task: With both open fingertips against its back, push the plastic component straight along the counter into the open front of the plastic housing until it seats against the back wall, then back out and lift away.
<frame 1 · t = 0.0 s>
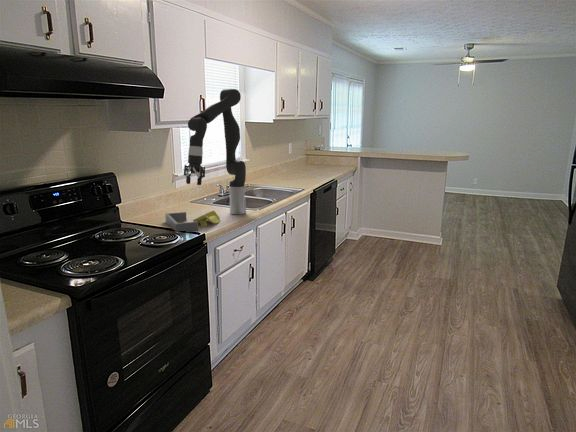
hand: (193, 184, 227), 22 cm above the worktop, tool pointing down, fingers open, 8 cm apart
housing: (182, 226, 226), on the worktop
plastic component: (205, 224, 232), on the worktop
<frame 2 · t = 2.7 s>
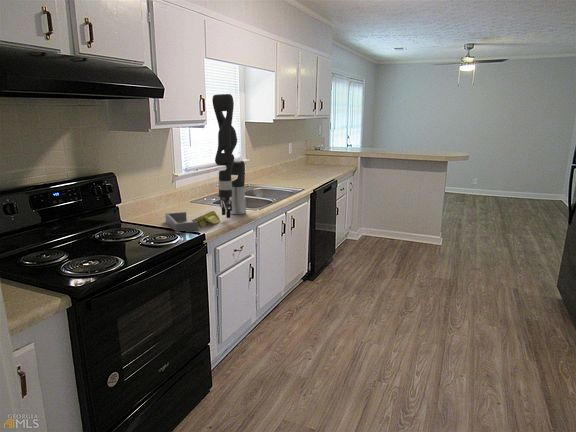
hand: (226, 216, 236), 3 cm above the worktop, tool pointing down, fingers open, 8 cm apart
nothing on the worktop moved.
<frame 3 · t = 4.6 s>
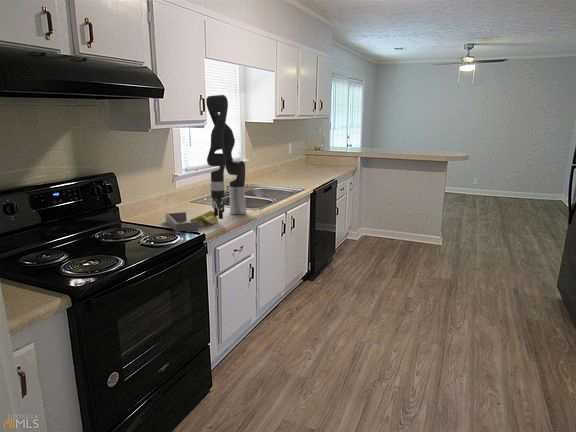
hand: (218, 217, 234), 3 cm above the worktop, tool pointing down, fingers open, 8 cm apart
plastic component: (203, 224, 231), on the worktop, touching gripper
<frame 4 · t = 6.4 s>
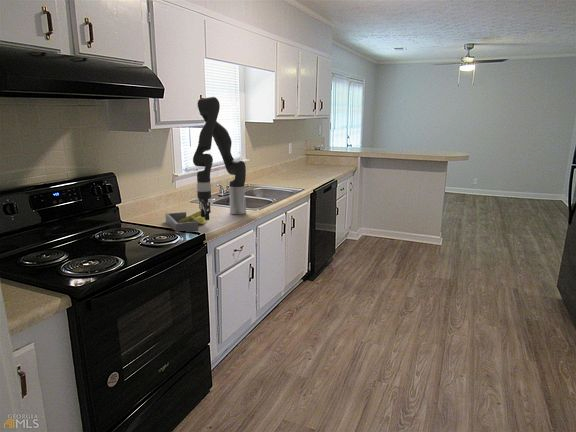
hand: (205, 218, 231), 3 cm above the worktop, tool pointing down, fingers open, 8 cm apart
plastic component: (192, 225, 231), on the worktop
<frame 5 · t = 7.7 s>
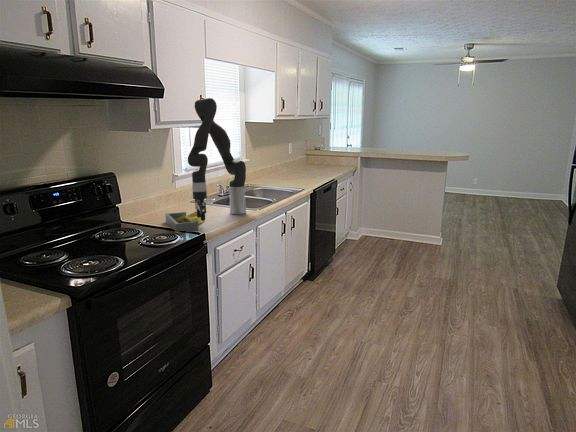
hand: (201, 218, 229), 3 cm above the worktop, tool pointing down, fingers open, 8 cm apart
plastic component: (188, 225, 230), on the worktop, touching gripper, housing
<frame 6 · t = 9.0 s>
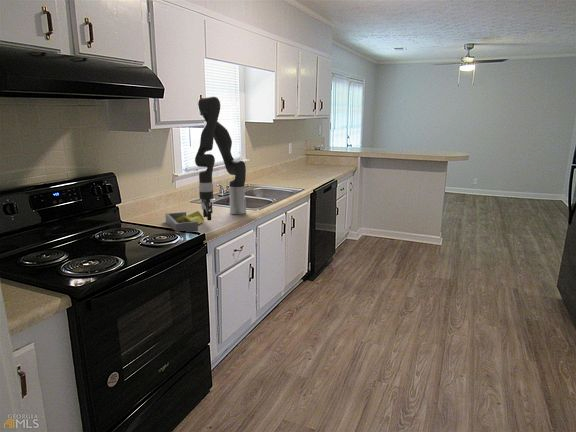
hand: (207, 218, 232), 3 cm above the worktop, tool pointing down, fingers open, 8 cm apart
plastic component: (188, 225, 230), on the worktop
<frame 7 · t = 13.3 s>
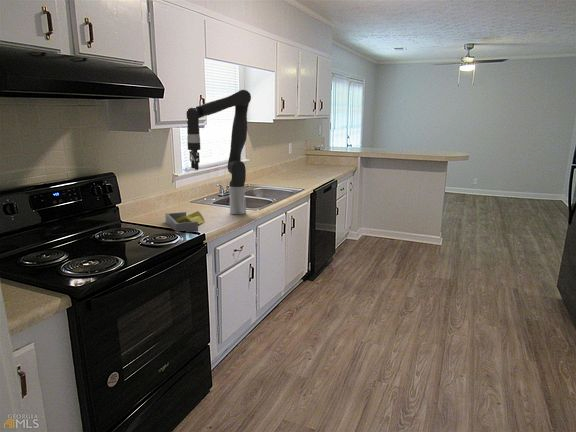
hand: (194, 168, 251), 28 cm above the worktop, tool pointing down, fingers open, 8 cm apart
nothing on the worktop moved.
at the end: plastic component inside the target area on the housing (3.4 cm from its centre), point 0.0 cm above the housing's base; plastic component tilted 0° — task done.
